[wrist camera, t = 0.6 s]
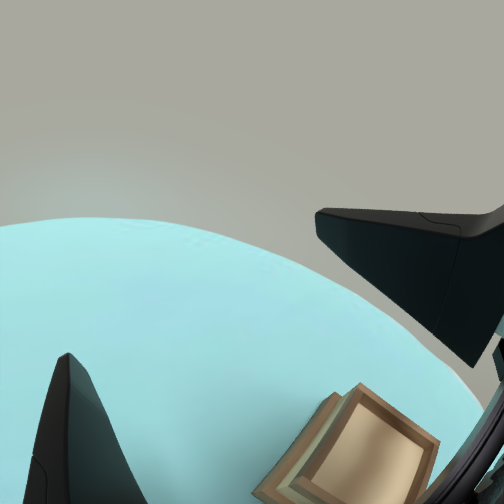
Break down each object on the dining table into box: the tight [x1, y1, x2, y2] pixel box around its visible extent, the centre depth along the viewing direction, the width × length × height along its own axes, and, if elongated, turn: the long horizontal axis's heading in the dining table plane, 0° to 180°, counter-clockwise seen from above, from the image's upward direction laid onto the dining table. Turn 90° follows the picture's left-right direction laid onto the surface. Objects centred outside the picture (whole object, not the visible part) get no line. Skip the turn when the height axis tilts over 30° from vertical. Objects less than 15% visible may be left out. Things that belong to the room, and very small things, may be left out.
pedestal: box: [251, 382, 441, 504], centre depth 16 cm, size 10×10×5 cm
